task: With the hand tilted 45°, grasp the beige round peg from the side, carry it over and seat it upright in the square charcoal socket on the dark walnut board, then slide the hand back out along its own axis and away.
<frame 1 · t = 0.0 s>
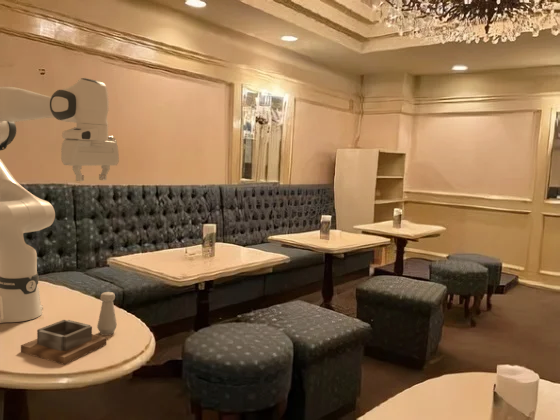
hand: (91, 180, 148), 48 cm above the table, tool pointing down, fingers open, 8 cm apart
walnut socket board: (64, 348, 142), on the table
beige round peg: (106, 333, 155), on the table
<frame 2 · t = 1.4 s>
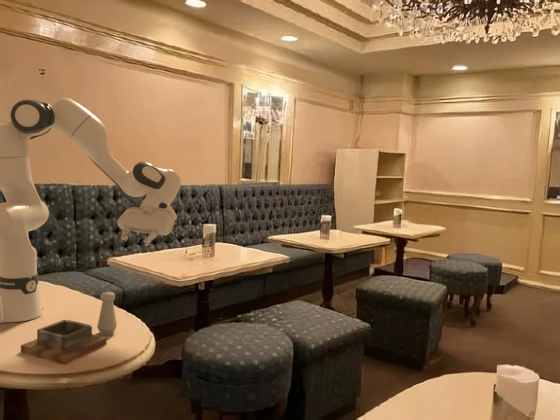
hand: (134, 241, 162), 28 cm above the table, tool tilted 45°, fingers open, 8 cm apart
nothing on the table moved.
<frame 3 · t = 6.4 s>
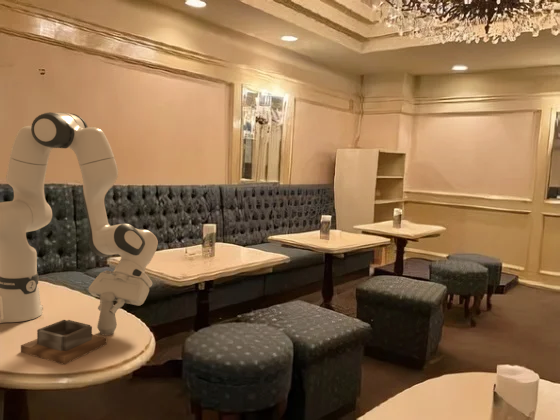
hand: (106, 311, 153), 7 cm above the table, tool tilted 45°, fingers closed on beige round peg, 3 cm apart
beige round peg: (106, 333, 155), on the table, touching gripper
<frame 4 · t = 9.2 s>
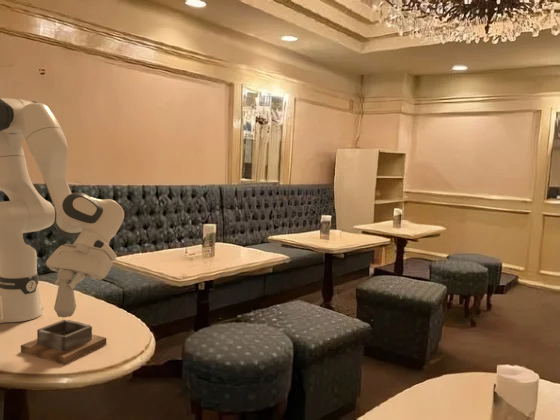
hand: (63, 286, 139), 19 cm above the table, tool tilted 45°, fingers closed on beige round peg, 3 cm apart
beige round peg: (65, 315, 140), point 10 cm above the table, touching gripper
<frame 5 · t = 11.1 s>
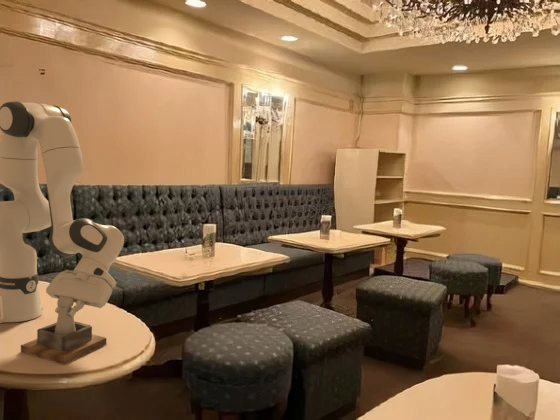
hand: (63, 314, 140), 10 cm above the table, tool tilted 45°, fingers closed on beige round peg, 3 cm apart
beige round peg: (65, 342, 141), point 2 cm above the table, touching gripper, walnut socket board
when the fingers open (10 cm above the table, at t = 11.2 s): beige round peg stays where it is, resting on walnut socket board.
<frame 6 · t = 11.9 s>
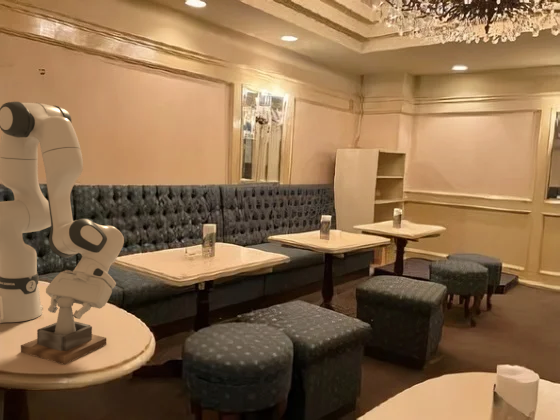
hand: (63, 314, 140), 10 cm above the table, tool tilted 45°, fingers open, 8 cm apart
beige round peg: (65, 342, 141), point 2 cm above the table, touching walnut socket board
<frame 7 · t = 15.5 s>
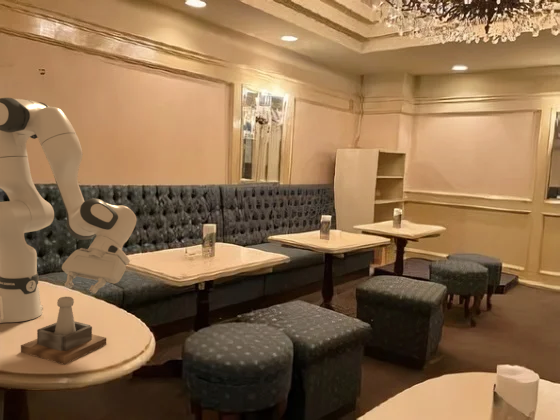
hand: (79, 289, 145), 16 cm above the table, tool tilted 45°, fingers open, 8 cm apart
nothing on the table moved.
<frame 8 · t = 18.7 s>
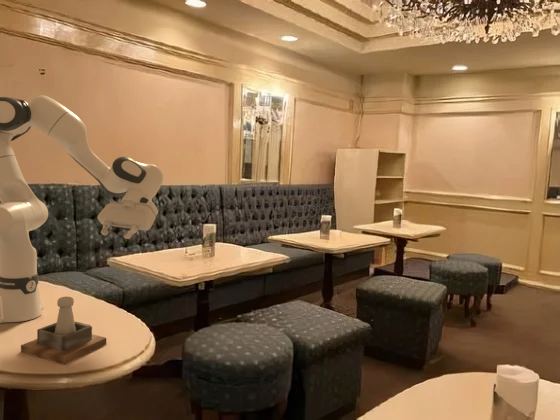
hand: (114, 235, 161), 29 cm above the table, tool tilted 45°, fingers open, 8 cm apart
nothing on the table moved.
at the end: beige round peg 0.0 cm off-centre on the walnut socket board, point 1.8 cm above the walnut socket board's base; beige round peg tilted 0°; the gripper is holding nothing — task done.
